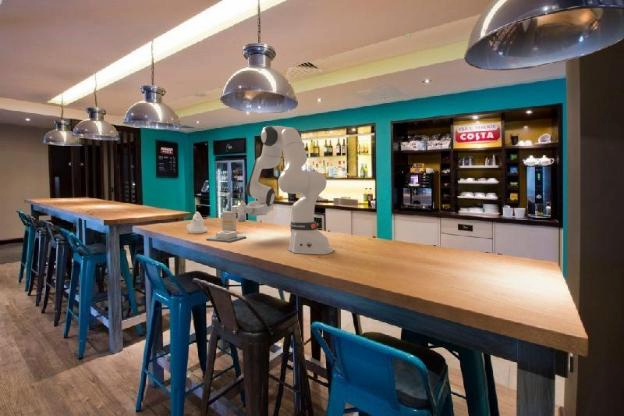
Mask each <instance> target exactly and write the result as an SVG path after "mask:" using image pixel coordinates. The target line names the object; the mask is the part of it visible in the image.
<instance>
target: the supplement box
mask: <svg viewBox="0 0 624 416" xmlns="http://www.w3.org/2000/svg"><path fill="white" fill-rule="evenodd" d="M221 222H222V223H221V226H222V227H221V228H222V229H221V231H235V232H237V213H236V212H232V210H231V211H225V210H224V211H222V212H221Z"/></svg>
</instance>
